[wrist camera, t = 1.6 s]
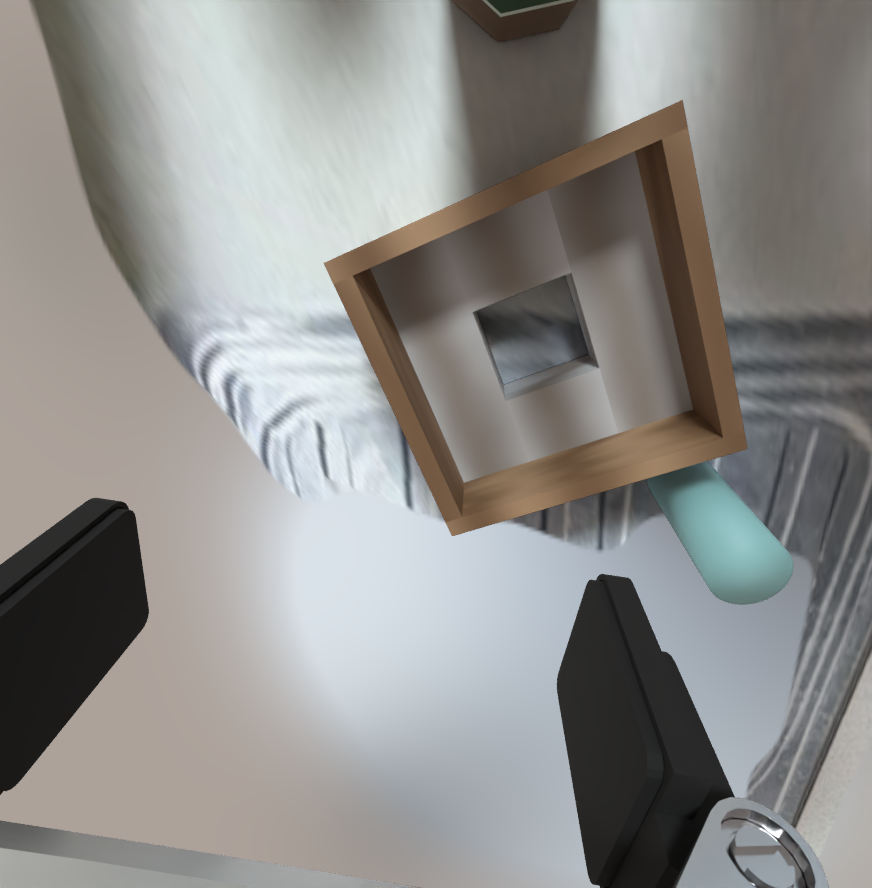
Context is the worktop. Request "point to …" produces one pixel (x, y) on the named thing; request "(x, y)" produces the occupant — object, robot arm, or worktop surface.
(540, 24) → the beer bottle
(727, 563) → the peg
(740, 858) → the robot arm
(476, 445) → the box
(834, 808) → the worktop surface
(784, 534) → the worktop surface
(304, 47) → the worktop surface
